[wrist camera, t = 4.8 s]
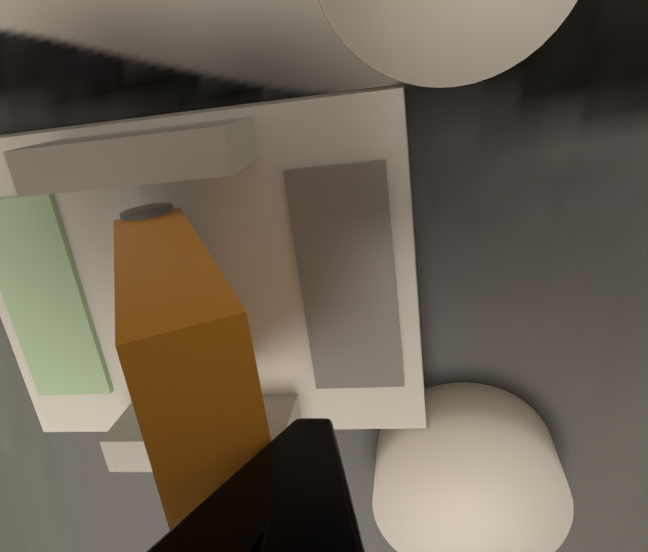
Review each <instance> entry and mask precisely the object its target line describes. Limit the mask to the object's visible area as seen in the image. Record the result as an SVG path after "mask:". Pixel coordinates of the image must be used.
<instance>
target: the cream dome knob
mask: <svg viewBox="0 0 648 552" xmlns="http://www.w3.org/2000/svg"><path fill="white" fill-rule="evenodd" d="M425 409H426V428H415V429H381V431H380V433H379V437H378V442H377V454H376V466H375V477H374V489H373V501H372V504H373V513H374V517H375V520H376V523H377V525H378V528H379V530H380V531H381V533H382V535H383V536H384V538H385V539H386V540H387V542H388V543H389V544H390V545H391V546H392V547H393V548H394V549H395V550H396V551H397V552H555V551H556V550H557V549H558V548H559V547H560V546H561V544H562V543H563V542H564V540H565V539H566V537H567V535H568V533H569V531H570V528H571V525H572V521H573V513H574V507H573V499H572V495H571V492H570V488H569V486H568V483H567V480H566V477H565V474H564V472H563V469H562V466H561V463H560V460H559V458H558V455H557V452H556V449H555V446H554V444H553V441H552V438H551V435H550V433H549V431H548V429H547V426H546V424H545V423H544V421H543V420H542V419H541V417H540V416H539V415H538V414H537V412H536V411H535V410H534V409H533V408H532V407H530V406H529V405H528V404H527V403H526V402H524V401H523V400H521V399H520V398H518V397H517V396H515V395H513V394H511V393H509V392H507V391H505V390H502V389H499V388H496V387H493V386H489V385H484V384H479V383H469V382H455V383H447V384H441V385H437V386H433V387H430V388H427V389H425Z"/></svg>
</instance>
